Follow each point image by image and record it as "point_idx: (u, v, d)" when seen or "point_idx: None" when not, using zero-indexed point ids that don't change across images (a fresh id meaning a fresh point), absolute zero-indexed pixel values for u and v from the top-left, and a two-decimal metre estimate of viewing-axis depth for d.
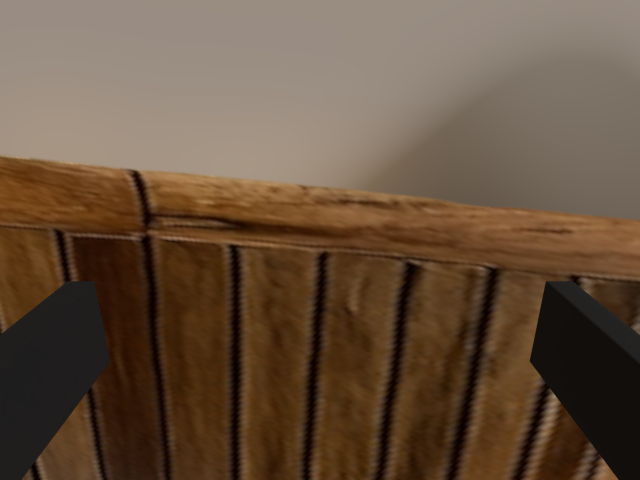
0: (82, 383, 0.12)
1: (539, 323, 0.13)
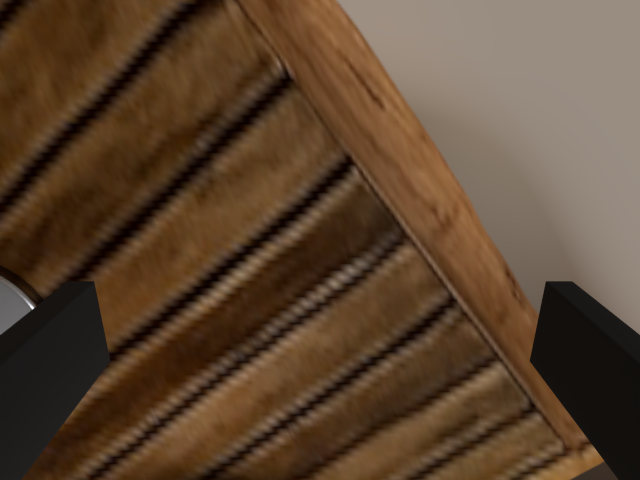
0: (82, 383, 0.12)
1: (539, 323, 0.13)
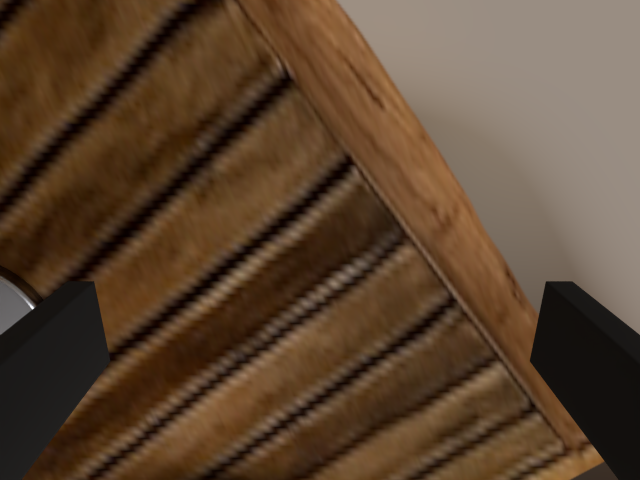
0: (82, 383, 0.12)
1: (539, 323, 0.13)
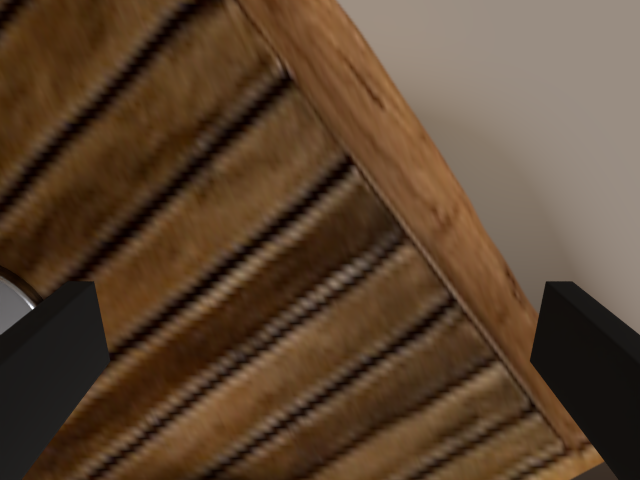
0: (82, 383, 0.12)
1: (539, 323, 0.13)
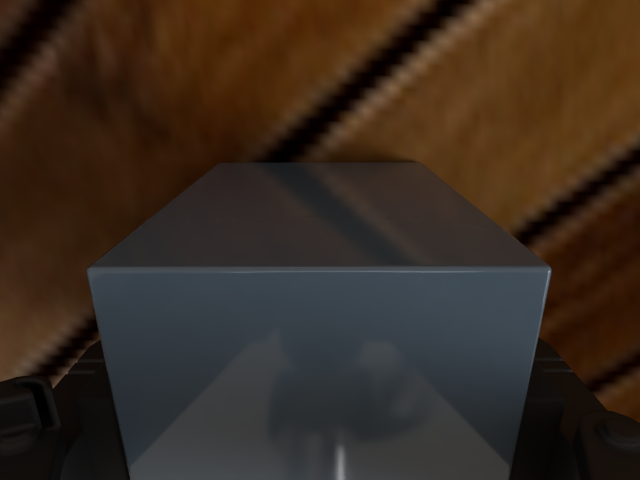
0: None
1: None
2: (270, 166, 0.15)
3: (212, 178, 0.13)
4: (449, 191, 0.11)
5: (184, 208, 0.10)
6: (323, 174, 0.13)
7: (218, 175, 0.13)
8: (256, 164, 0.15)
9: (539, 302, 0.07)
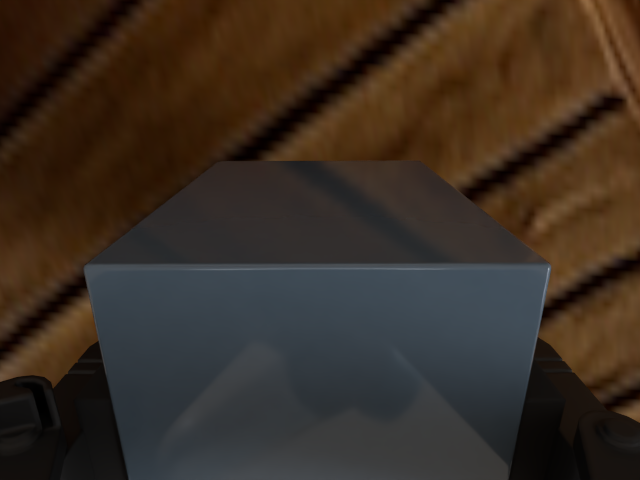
0: None
1: None
2: (269, 165, 0.15)
3: (211, 176, 0.13)
4: (448, 189, 0.11)
5: (183, 206, 0.10)
6: (322, 172, 0.13)
7: (217, 173, 0.13)
8: (255, 163, 0.15)
9: (539, 300, 0.07)
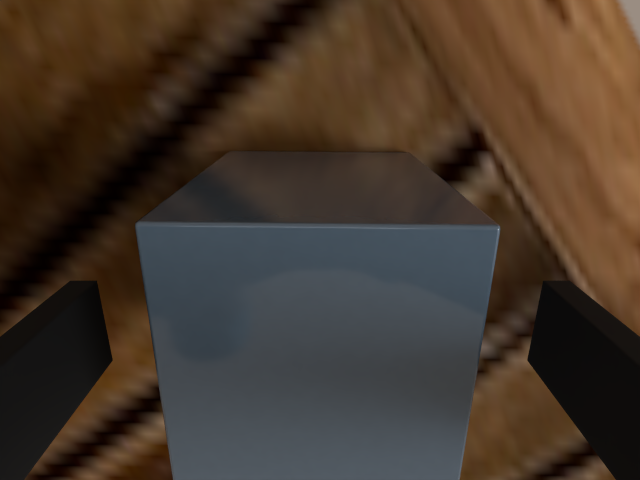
0: (85, 382, 0.12)
1: (536, 322, 0.13)
2: (275, 154, 0.16)
3: (225, 163, 0.15)
4: (430, 174, 0.13)
5: (205, 184, 0.12)
6: (322, 161, 0.15)
7: (230, 160, 0.15)
8: (263, 152, 0.17)
9: (491, 254, 0.09)
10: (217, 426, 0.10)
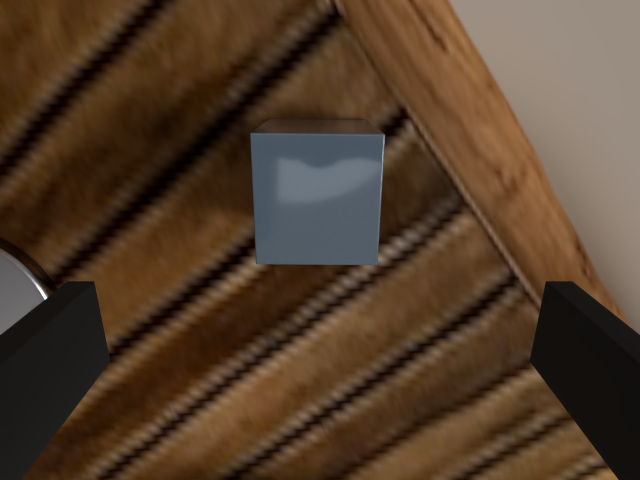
0: (82, 383, 0.12)
1: (539, 323, 0.13)
2: (295, 119, 0.31)
3: (271, 122, 0.29)
4: (370, 125, 0.28)
5: (267, 126, 0.26)
6: (319, 121, 0.30)
7: (273, 121, 0.30)
8: (288, 119, 0.31)
9: (381, 145, 0.23)
10: (276, 223, 0.25)
